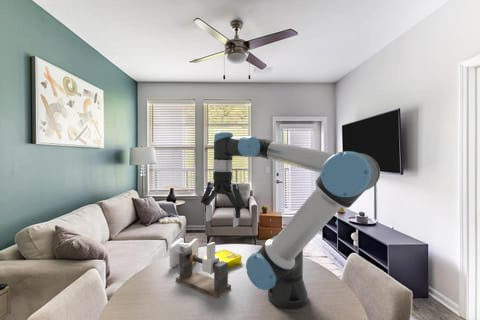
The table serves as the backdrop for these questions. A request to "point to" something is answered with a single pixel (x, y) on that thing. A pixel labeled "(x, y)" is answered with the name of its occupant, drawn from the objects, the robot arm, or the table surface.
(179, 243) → the cable organizer
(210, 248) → the sleeve
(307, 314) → the table surface
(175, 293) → the table surface
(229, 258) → the element tile
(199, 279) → the cord rack
